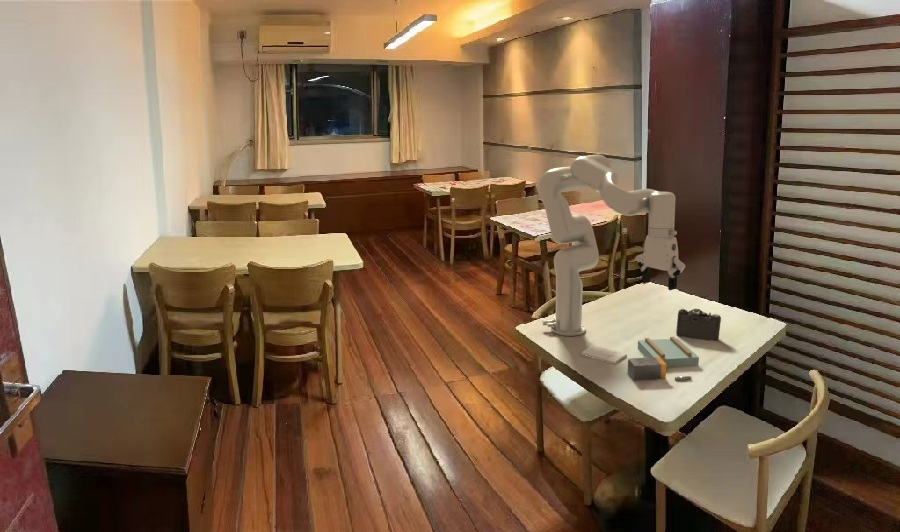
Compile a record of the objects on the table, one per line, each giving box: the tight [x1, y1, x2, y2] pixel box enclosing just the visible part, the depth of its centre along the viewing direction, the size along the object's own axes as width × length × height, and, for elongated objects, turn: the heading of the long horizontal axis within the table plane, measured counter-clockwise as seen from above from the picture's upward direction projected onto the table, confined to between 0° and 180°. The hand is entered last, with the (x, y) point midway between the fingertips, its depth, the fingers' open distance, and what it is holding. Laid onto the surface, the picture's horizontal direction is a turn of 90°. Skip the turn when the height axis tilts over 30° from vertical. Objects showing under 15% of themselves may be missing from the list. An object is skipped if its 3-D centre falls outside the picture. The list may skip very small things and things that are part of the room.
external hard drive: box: [581, 344, 628, 365], centre depth 214 cm, size 2×8×12 cm
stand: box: [637, 336, 700, 369], centre depth 211 cm, size 14×16×4 cm
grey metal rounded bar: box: [674, 375, 693, 382], centre depth 195 cm, size 5×1×1 cm, turn 94°
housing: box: [626, 357, 667, 382], centre depth 197 cm, size 10×6×5 cm, turn 94°
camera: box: [675, 308, 722, 342], centre depth 228 cm, size 14×11×10 cm
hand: (658, 286), depth 199 cm, fingers open, 9 cm apart
